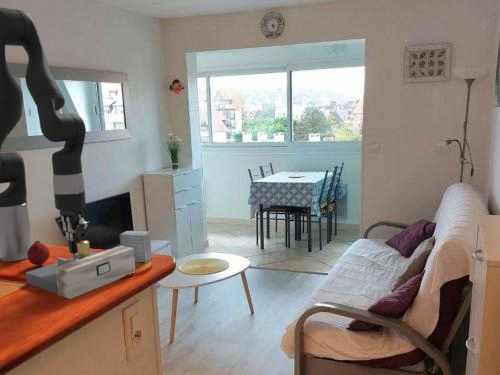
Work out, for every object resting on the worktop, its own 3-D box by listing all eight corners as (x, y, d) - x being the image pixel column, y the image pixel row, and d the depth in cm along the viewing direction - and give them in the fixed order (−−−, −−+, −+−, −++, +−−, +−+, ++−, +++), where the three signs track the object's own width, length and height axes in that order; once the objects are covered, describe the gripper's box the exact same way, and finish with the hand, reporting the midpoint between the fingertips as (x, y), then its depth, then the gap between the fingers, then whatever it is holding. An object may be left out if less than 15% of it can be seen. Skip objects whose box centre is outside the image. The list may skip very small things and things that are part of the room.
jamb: (58, 294, 104) (54, 267, 102) (123, 269, 120) (121, 245, 119) (69, 299, 101) (66, 271, 100) (135, 272, 117) (133, 248, 116)
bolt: (73, 267, 113) (71, 242, 112) (83, 263, 116) (81, 239, 114) (99, 274, 107) (96, 248, 106) (109, 270, 109) (106, 244, 108)
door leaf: (27, 283, 112) (24, 264, 111) (92, 260, 128) (91, 244, 127) (57, 294, 104) (54, 274, 103) (122, 268, 120) (121, 251, 119)
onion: (41, 270, 121) (38, 243, 120) (24, 269, 122) (20, 243, 121) (54, 263, 127) (51, 237, 126) (38, 262, 128) (34, 237, 127)
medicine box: (152, 258, 128) (150, 231, 127) (146, 263, 124) (143, 235, 122) (128, 257, 130) (126, 230, 128) (121, 262, 125) (119, 234, 124)
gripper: (42, 190, 112) (48, 252, 115) (71, 195, 105) (76, 261, 108) (68, 185, 118) (73, 244, 121) (97, 190, 111) (101, 253, 114)
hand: (75, 252), depth 115 cm, fingers closed
